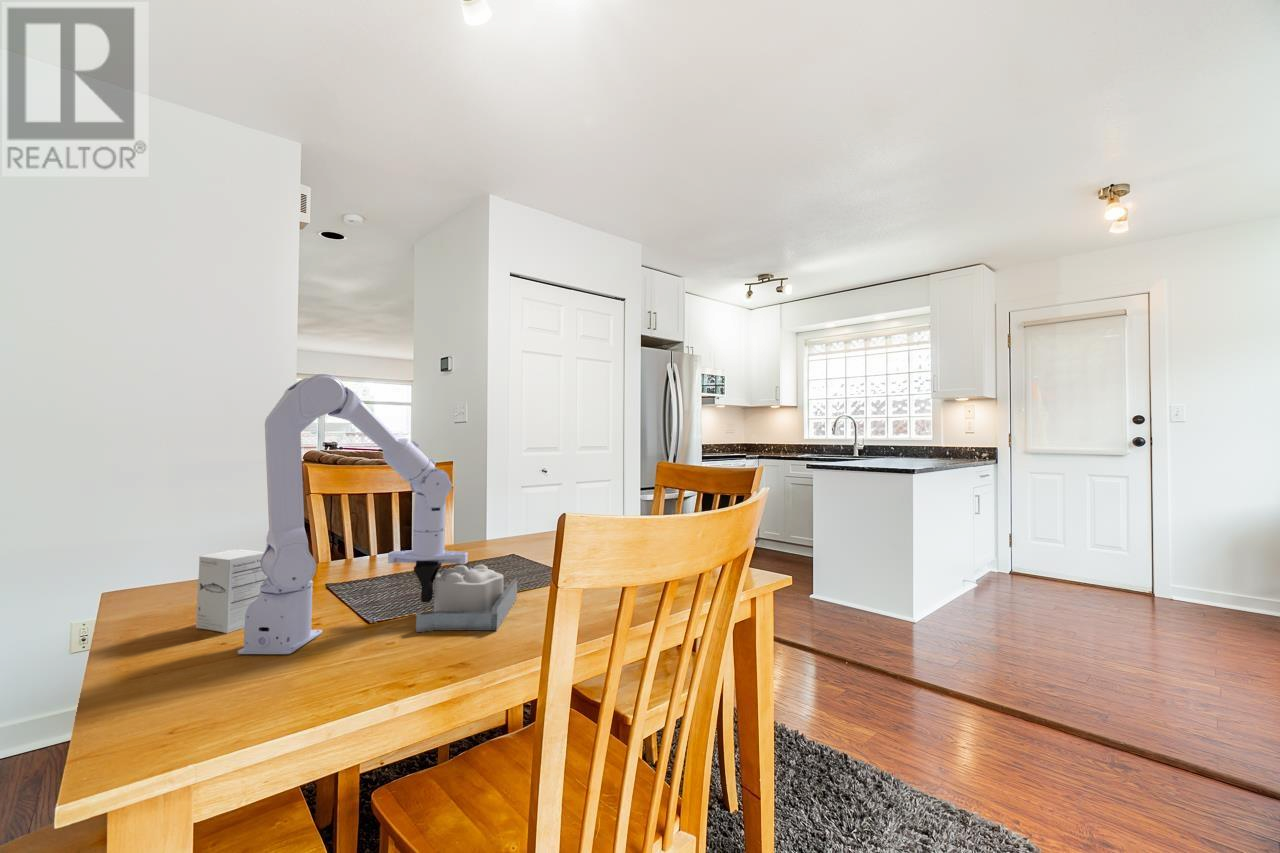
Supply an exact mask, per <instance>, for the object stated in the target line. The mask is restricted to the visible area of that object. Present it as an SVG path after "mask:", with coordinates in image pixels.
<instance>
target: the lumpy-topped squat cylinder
mask: <svg viewBox="0 0 1280 853" xmlns="http://www.w3.org/2000/svg"><path fill="white" fill-rule="evenodd" d="M433 585H434V587H433V588H434V589H433V611H435V612H436V611H491V610H492V607H493V606H494V604H495V603H496V602H497V600H498V599H499V597H500V596H501V595H502V593H503V586H504V585H505V584H504V575H503V574H502V573H499V572H497V571H495V570H493V569H489V568H488V566H486V565H485V564H477V565H475V566H473V568H472V567H469V568H468V567H467V566H466V565H465V564H460V565H455V566H454V567H453V568H452V567H448V568H446V569H445V570H444V571H440V572H438V573H437V574H436V576H435V579H434V582H433Z"/></svg>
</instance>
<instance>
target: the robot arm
mask: <svg viewBox="0 0 1280 853" xmlns="http://www.w3.org/2000/svg"><path fill="white" fill-rule="evenodd" d="M325 415H328V416H329V417H334V418H338V419H342V420H346V421H349V423H351V424H352V425H353V426H354V427H356V428H357V429H358V430H359V431H360V432H362V433H363V434H364V435H365V436H366V437H367V438H368V439H370V440H371V441H372V442H373V443H374V444H376V445H377V446H378V447H379V448H380V449H381V450H382V455H383V456H382V457H383V458H382V459H383V462H385V463H386V464H387V465H388V466H389V467H390V468H392V470H394V471H395V473H397V474H398V475H399V476H400V477H401V478H402V479H403V480H404V481H406V482H407V483H408V484H409V487H410V490H411V491H412V492H413V493H414V506H413V531H412V532H413V535H412V536H413V537H412V540H413V541H412V550H392V551H390V552H388V556H387V563H388V564H395V563H405V564H406V563H407V564H409V563H410V564H411V563H415V565H414V567H413V571H414V574H415V575H416V577H417V579H418V580H419V583H420V586H421V593H420V600H421V603H429V602H430V601H432V600H433V597H434V589H433V588H434V587H433V585H434V582H435V576H436V575H437V574H438V573H439V570H440V569H441V567H442V564H460V565H465V564H467V563H468V562H469V559H468V558H469V552H468V551H455V550H446V549H445V546H446V545H445V543H446V542H445V541H446V540H445V539H446V514H447V513H446V511H447V496H448V495H449V493H450V492H451V490H452V488H453V482H451V479H450V475H449V474H448V473H447V471H445V470H443V469H441V468H436V464H437V462H436V461H435V459H430V458H428V457H427V455H425V453H423V452H422V450H420V449H419V447H420V444H419V443H418V442H417V441H416V440H410V438H405V437H404V438H402V437H401V438H398V437H397V436H396V435H395V434H394V433H393V432H392V430H390V429H389V428H388V427H387V426H386V425H385V423H384V422H382V420H381V419H380V418H379V417H378V416H377V414H375V413H374V412H373V411H372V410H371V409H370V408H369V406H368V405H367V404H366V403H365V402H364V401H363V400H362V399H361V398H360V397H359V396H358V395H357V394H356V392H354V391H353V390H352V389H351V388H349V387H348V386H345V385H344V384H343V382H342V381H341V380H340V379H339V378H337V377H336V376H335V375H332V374H328V373H319V374H315V375H312V376H311V377H305V378H303V379H301V380H299V381H297V382H295V383H294V384H292V385H291V386H289V387H288V388H286V389H285V391H284V392H283V395H282V396H281V397H280V399H279V400H278V402H277V403H276V404H275V406H274V407H273V408H272V410H271V411H270V412H269V414H268V415H267V416H266V418H265V421H264V439H265V441H264V442H265V459H266V460H265V465H266V488H267V510H268V512H267V514H268V531H267V535H266V547H265V550H264V551H263V552H264V554H263V556H262V558H261V563H260V564H261V569H262V571H263V573H264V574H265V575H266V576H267V578H266V579H265V581H264V582H263V584H262V585H261V586H260V594H259V596H258V598H257V599H256V600H255V601H254V602H252V603H251V604H250V606H249V607H248V608H247V610H246V613H245V628H244V629H243V630H244V632H243V633H244V634H243V636H244V637H243V647H241V648H240V649H238V650H237V654H238V655H291V654H292V653H294V652H295V651H296V650H298V649H300V648H301V647H303V646H304V645H306V644H307V643H309V642H311V641H312V640H313V639H315V638H316V637H319V636H320V635H321V634H322V633H323V629H312V620H313V619H312V616H313V614H312V613H313V585H314V581H313V580H312V579H313V578H314V576H315V573H316V570H317V563H316V560H315V558H314V556H313V555H312V554H311V552H310V548H309V540H308V536H307V532H306V528H305V511H304V510H305V509H304V507H305V506H304V487H303V486H304V485H303V484H304V482H303V462H302V460H303V458H302V456H303V455H302V439H301V436H302V434H301V433H302V431H304V430H305V429H306V428H307V427H308V426H310V425H311V424H312V423H314V422H315V421H316V419H319V418H320V417H323V416H325Z"/></svg>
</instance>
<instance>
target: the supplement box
mask: <svg viewBox="0 0 1280 853" xmlns="http://www.w3.org/2000/svg"><path fill="white" fill-rule="evenodd" d="M264 552H265V551H260V550H251V549H242V548H237V549H236V548H235V549H229V550H224V551H220V552H214V553H207V554H204V555H200V556H199V560H198V584H197V603H196V604H197V605H196V624H195V628H196V629H201V630H209V631H215V632H219V633H223V634H229V633H233V632H235V631H239V630H242V629H245V613H246V610H247V608H248V607H249V606H250V604H251V603H252V602H254V601H255V600H256V599H257V598H258V596H259V594H260V586H261V585H262V584H263V582H264V581H265V579H266V578H267V577H268V576H266V575H265V574H264V573H263V571H262V569H261V564H260V563H261V558H262V556H263V554H264Z"/></svg>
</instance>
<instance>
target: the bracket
mask: <svg viewBox="0 0 1280 853" xmlns="http://www.w3.org/2000/svg"><path fill="white" fill-rule="evenodd" d="M516 598H517V599H518V579H512V580H511V581H510V583H509V584H504V586H503V593H502V595H501V596H500V597H499V599H498V600H497V602H496V603H495V604H494V606H493V607H492V610H491V611H436V612H435V611H434V610H431V611H424V612H416V613H415V632H417V633H416V634H419V633H418V632H422V633H426V632H425V631H429V632H434V631H433V630H497V629H498V630H499V628H500V627H501V625H502V623H503V622H502V621H504V620H505V619H504V618H506V617H507V616H508V614H509V612H510V611H511V609H512V607H513V606H514V604H515V603H514V601H515V600H516V601H517V599H516ZM516 601H515V602H516ZM513 603H514V604H513ZM512 605H513V606H512ZM511 606H512V607H511ZM510 608H511V609H510ZM509 610H510V611H509ZM508 611H509V612H508ZM507 613H508V614H507ZM505 616H506V617H505ZM503 619H504V620H503ZM501 622H502V623H501ZM500 624H501V625H500ZM499 626H500V627H499ZM498 627H499V628H498ZM498 630H497V631H498Z"/></svg>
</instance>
